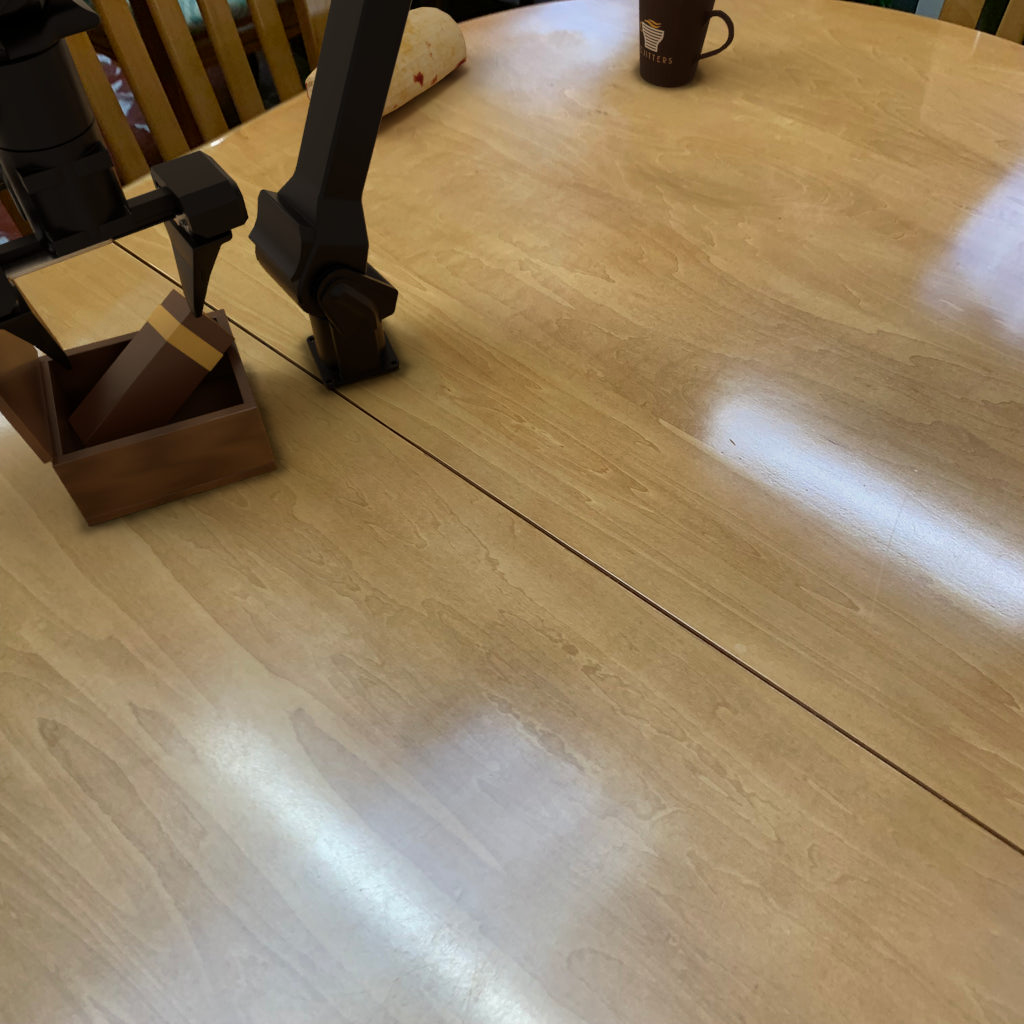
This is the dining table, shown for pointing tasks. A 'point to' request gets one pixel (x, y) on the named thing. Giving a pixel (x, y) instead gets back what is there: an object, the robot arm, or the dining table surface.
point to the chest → (154, 436)
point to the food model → (421, 56)
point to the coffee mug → (675, 39)
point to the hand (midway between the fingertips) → (134, 340)
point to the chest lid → (24, 394)
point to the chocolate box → (152, 374)
